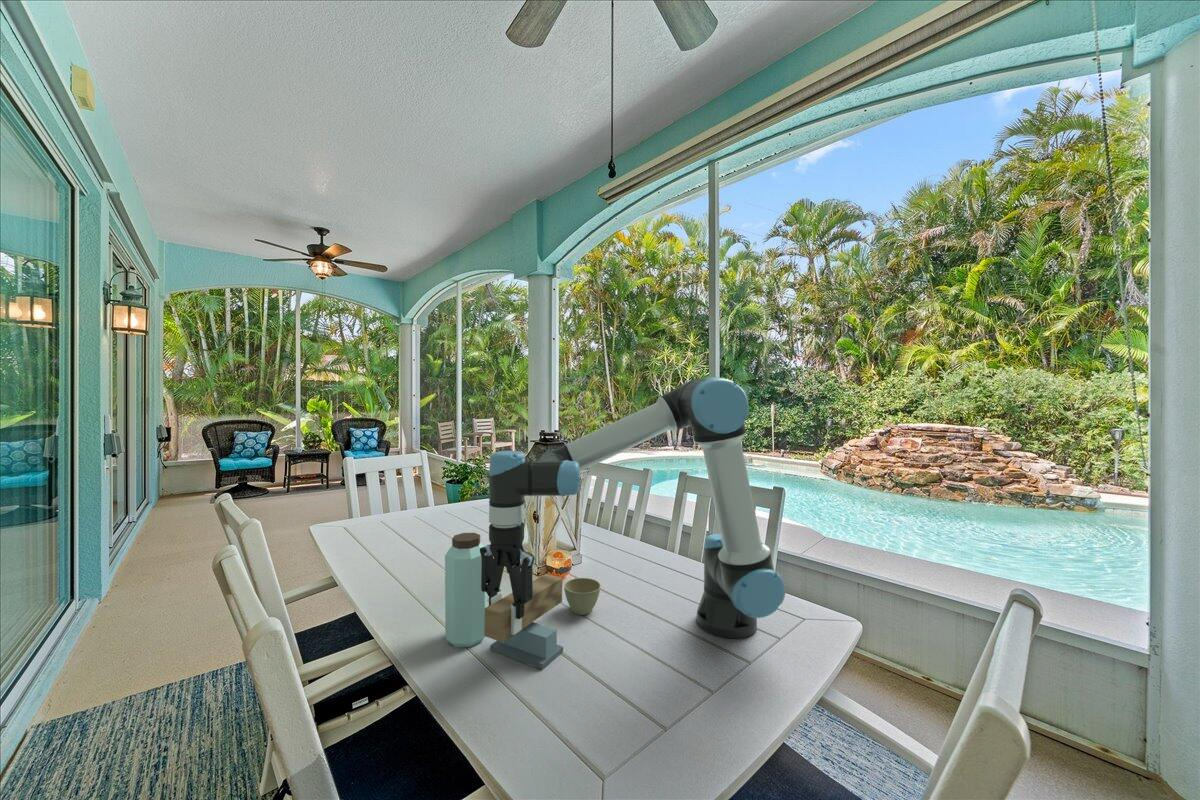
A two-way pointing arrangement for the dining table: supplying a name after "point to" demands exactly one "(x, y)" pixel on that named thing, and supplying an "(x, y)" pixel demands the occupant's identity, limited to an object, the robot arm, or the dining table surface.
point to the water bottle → (464, 591)
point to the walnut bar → (543, 600)
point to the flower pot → (582, 594)
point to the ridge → (531, 645)
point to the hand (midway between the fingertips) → (506, 628)
